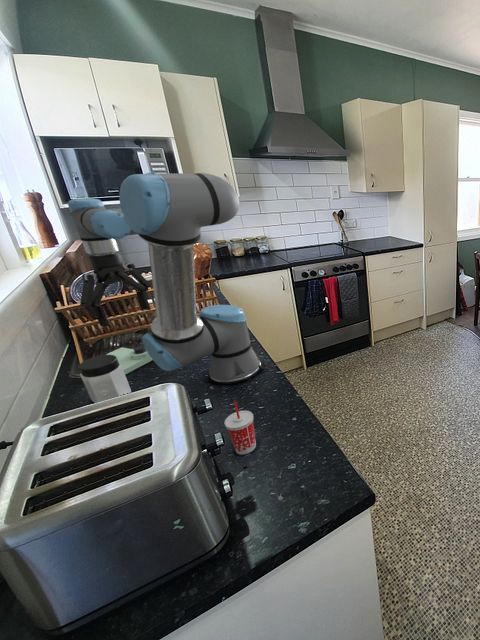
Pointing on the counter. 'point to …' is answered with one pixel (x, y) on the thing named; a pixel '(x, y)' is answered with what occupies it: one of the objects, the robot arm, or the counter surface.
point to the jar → (104, 377)
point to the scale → (130, 359)
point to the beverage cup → (241, 431)
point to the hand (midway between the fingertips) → (126, 317)
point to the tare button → (139, 349)
